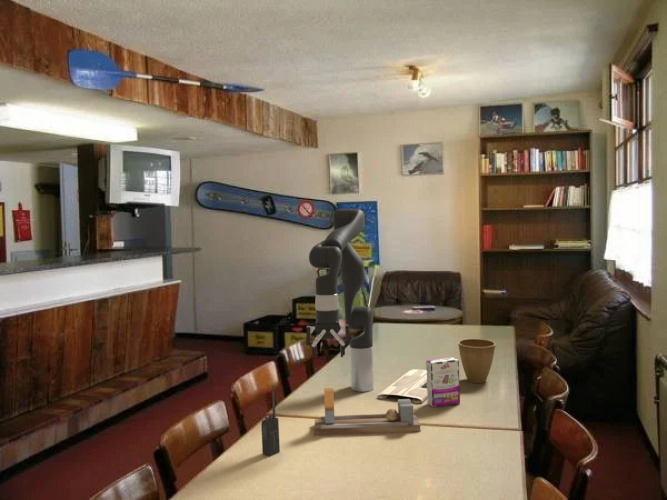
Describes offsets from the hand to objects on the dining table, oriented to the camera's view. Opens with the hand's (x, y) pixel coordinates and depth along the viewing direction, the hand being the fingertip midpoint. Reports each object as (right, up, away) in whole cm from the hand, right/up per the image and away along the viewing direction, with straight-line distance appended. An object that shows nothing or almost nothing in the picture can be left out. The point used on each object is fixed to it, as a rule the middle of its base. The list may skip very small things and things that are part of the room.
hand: (328, 357), depth 187 cm
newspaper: (+34, -21, +45) cm, 60 cm away
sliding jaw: (0, -22, +1) cm, 22 cm away
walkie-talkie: (-17, -26, -16) cm, 35 cm away
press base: (+12, -24, +2) cm, 27 cm away
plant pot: (+61, -19, +51) cm, 82 cm away
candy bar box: (+42, -22, +24) cm, 53 cm away
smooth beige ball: (+21, -19, +2) cm, 28 cm away
